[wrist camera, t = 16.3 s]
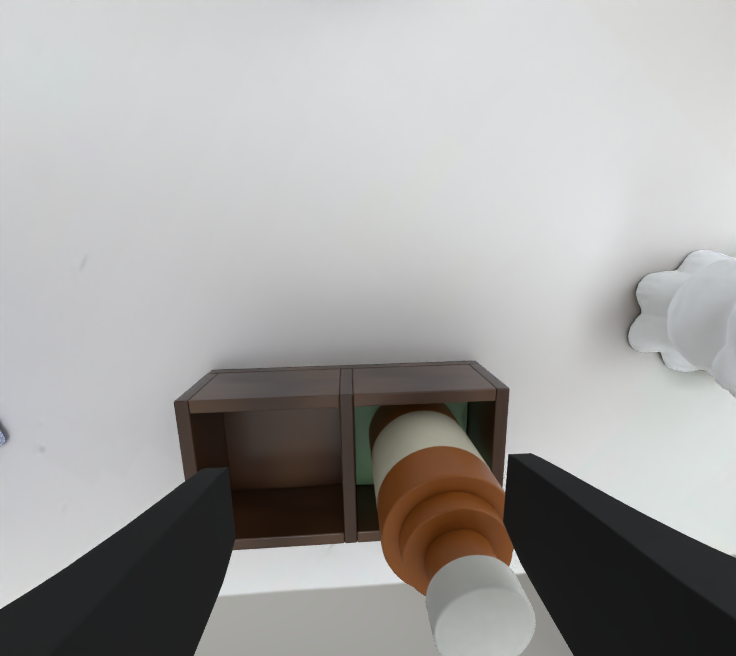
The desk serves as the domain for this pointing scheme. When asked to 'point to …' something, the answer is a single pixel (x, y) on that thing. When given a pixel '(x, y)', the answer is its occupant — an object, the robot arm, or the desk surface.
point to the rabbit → (691, 316)
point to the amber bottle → (447, 530)
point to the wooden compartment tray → (321, 440)
